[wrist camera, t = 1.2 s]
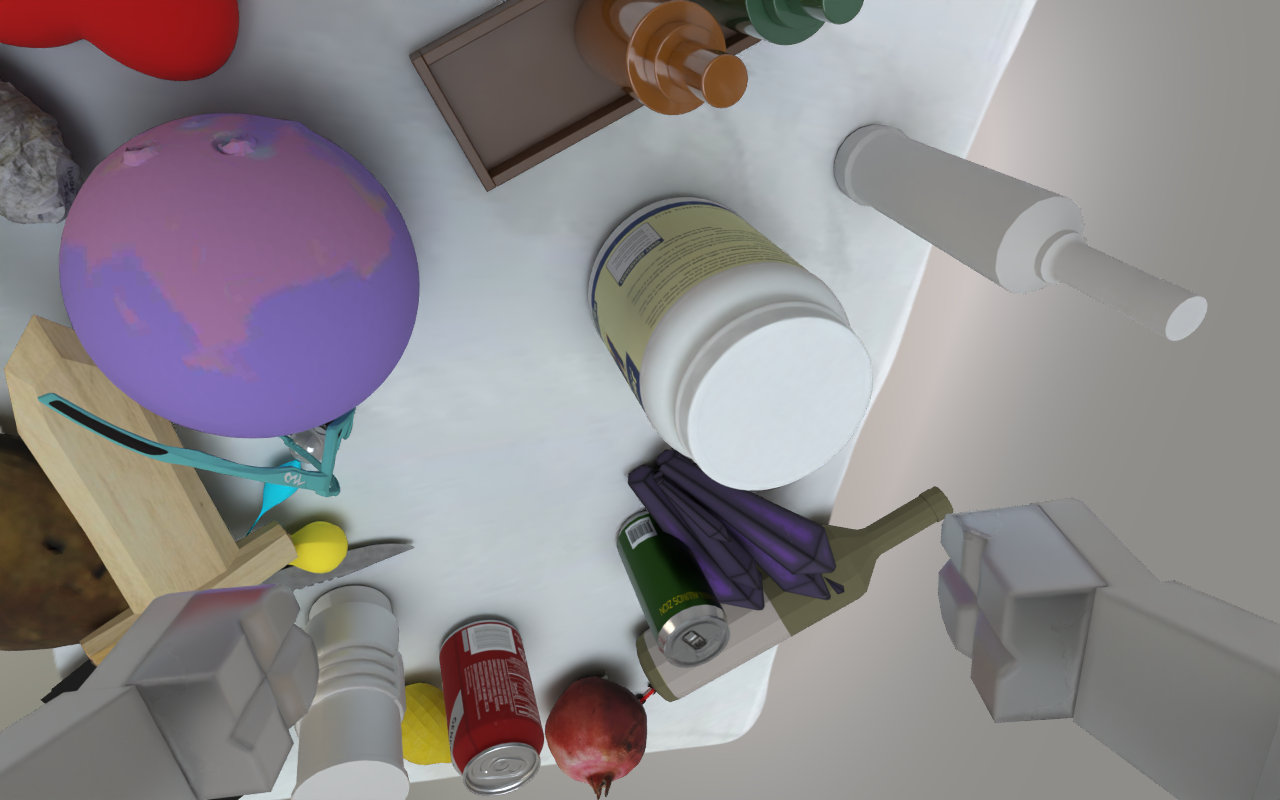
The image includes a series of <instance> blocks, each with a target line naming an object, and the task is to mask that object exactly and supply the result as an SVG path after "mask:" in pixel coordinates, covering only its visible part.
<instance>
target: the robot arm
mask: <svg viewBox="0 0 1280 800" xmlns="http://www.w3.org/2000/svg"><path fill="white" fill-rule="evenodd" d="M941 544H942V545H943V547H944V549H945V550H946V552H947V554H948V556H949V557H950V559H949V561H948V562H947V563H946V564H945V565H944V566H943V568H942V569H941V570H940V571H939V586H938V595H939V602H940V608H941V614H942V618H943V621H944V624H945V627H946V630H947V633H948V635H949V637H950V639H951V641H952V643H953V645H954V646H955V649H956V650H958V651H960V652H961V653H963V654H965V655H966V656H968V657H970V658H971V659H972V668H971V679H972V681H973V683H974V685H975V687H976V688H977V690H978V692H979V694H980V696H981V698H982V700H983V701H984V703H985V705H986V707H987V709H988V711H989V713H990V714H991V716H992V718H993V720H994V722H995V723H1001V722H1015V721H1031V720H1044V719H1045V720H1046V719H1061V718H1073V722H1074V723H1076V724H1077V725H1078V726H1080V727H1081V728H1083V729H1084V730H1085V731H1086V732H1088V733H1089V734H1090V735H1092V736H1093V737H1095V738H1096V739H1097V740H1099V741H1100V742H1101V743H1103V744H1104V745H1105V746H1107V747H1108V748H1109V749H1111V750H1112V751H1113V752H1115V753H1116V754H1118V755H1119V756H1120V757H1122V758H1123V759H1124V760H1126V761H1127V762H1128V763H1130V764H1131V765H1132V766H1134V767H1135V768H1136V769H1138V770H1139V771H1140V772H1142V773H1143V774H1145V775H1146V776H1147V777H1148V778H1150V779H1151V780H1153V781H1154V782H1155V783H1157V784H1158V785H1159V786H1161V787H1162V788H1163V789H1165V790H1166V791H1167V792H1169V793H1170V794H1171V795H1173V796H1174V797H1175V798H1177V799H1178V800H1280V624H1278V623H1275V622H1273V621H1271V620H1268V619H1266V618H1264V617H1261V616H1258V615H1256V614H1254V613H1252V612H1249V611H1247V610H1244V609H1242V608H1239V607H1237V606H1235V605H1232V604H1230V603H1227V602H1225V601H1223V600H1220V599H1218V598H1215V597H1213V596H1211V595H1208V594H1206V593H1204V592H1201V591H1199V590H1196V589H1194V588H1191V587H1189V586H1186V585H1184V584H1182V583H1179V582H1177V581H1175V580H1174V581H1162V582H1160V581H1159V580H1158V579H1157V578H1156V577H1155V576H1154V575H1153V574H1152V573H1151V572H1150V570H1149V569H1147V567H1146V566H1145V565H1144V564H1143V563H1142V562H1141V561H1140V560H1139V559H1138V558H1137V557H1136V556H1135V555H1134V554H1133V553H1132V552H1131V551H1130V550H1129V549H1128V548H1127V547H1126V546H1125V545H1124V544H1123V543H1122V542H1121V541H1120V540H1119V539H1118V538H1117V537H1116V536H1115V535H1114V533H1112V532H1111V530H1109V528H1108V527H1107V526H1106V525H1105V524H1104V523H1103V522H1102V521H1101V520H1100V519H1099V518H1098V517H1097V516H1096V515H1095V514H1094V513H1093V512H1092V511H1091V510H1090V509H1089V508H1088V507H1087V506H1086V505H1085V504H1084V503H1083V502H1082V501H1080V500H1077V499H1075V498H1066V499H1059V500H1051V501H1045V502H1036V503H1030V504H1029V505H1023V506H1014V507H1005V508H996V509H988V510H978V511H969V512H960V513H952V514H946V515H945V518H944V521H943V524H942V532H941ZM299 611H300V607H299V605H298V602H297V600H296V598H295V596H294V593H293V591H292V589H291V588H290V587H287V586H285V585H283V584H281V583H279V584H267V585H255V586H243V587H231V588H219V589H207V590H204V591H200V590H197V591H187V592H177V593H168V594H165V595H162V596H160V597H157V598H155V599H154V600H153V601H152V602H151V603H150V604H149V606H148V607H147V608H146V609H145V610H144V612H143V613H142V614H141V615H140V616H139V618H138V619H137V620H136V621H135V622H134V624H133V625H132V626H131V627H130V628H129V630H128V631H127V632H126V633H125V634H124V636H123V637H122V638H121V639H120V640H119V641H118V643H117V644H116V645H115V646H114V647H113V649H112V650H111V651H110V652H109V653H108V655H107V656H106V657H105V658H104V659H103V661H102V662H101V663H100V664H99V665H98V667H97V668H96V669H95V670H94V671H93V673H92V674H91V675H90V676H89V677H88V679H87V680H86V681H85V682H84V683H83V684H82V686H81V687H80V688H79V689H78V690H77V691H73V692H64V693H62V694H61V695H59V696H57V697H56V698H54V699H53V700H51V701H49V702H48V703H46V704H45V705H43V706H41V707H40V708H38V709H36V710H35V711H33V712H31V713H30V714H28V715H26V716H25V717H23V718H22V719H20V720H18V721H17V722H15V723H13V724H12V725H11V726H9V727H7V728H5V729H4V730H2V731H0V800H208V799H216V798H225V797H233V796H241V795H249V794H257V793H265V792H271V790H272V788H273V786H274V784H275V782H276V780H277V778H278V776H279V773H280V771H281V769H282V767H283V765H284V763H285V761H286V759H287V756H288V754H289V752H290V750H291V748H292V746H293V744H294V743H293V741H292V738H291V735H290V733H289V730H288V729H289V728H290V727H292V726H293V725H294V724H295V723H296V722H298V721H299V720H300V719H301V718H302V717H304V716H305V715H306V714H307V713H308V711H309V709H310V707H311V704H312V702H313V700H314V697H315V695H316V692H317V684H318V677H319V663H318V656H317V650H316V648H315V645H314V642H313V640H312V637H311V636H310V635H309V634H307V633H306V632H305V631H303V630H302V629H300V628H299V627H298V626H296V625H295V624H294V622H295V620H296V618H297V615H298V613H299Z"/></svg>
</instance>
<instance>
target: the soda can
mask: <svg viewBox="0 0 1280 800" xmlns="http://www.w3.org/2000/svg"><path fill="white" fill-rule="evenodd" d="M439 659H440V668H441V676H442V685H443V693H444V702H445V711H446V719H447V728H448V736H449V745H450V753H451V761H452V764H453V767H454V768H455V770H456V771H457V772H458V773H459V774H460V775H461V776H462V777H463V782H464V785H465V787H466V788H467V789H468V790H469V791H470V792H472V793H474V794H477V795H481V796H497V795H503V794H506V793H509V792H512V791H514V790H517V789H519V788H521V787H522V786H524V785H525V784H527V783H528V782H529V781H530V780H531V779H533V777H534V776H535V775H536V774H537V772H538V770H539V768H540V762H541V761H540V756H539V755H540V752H541V750H542V748H543V744H544V734H543V729H542V725H541V721H540V716H539V712H538V708H537V704H536V699H535V695H534V691H533V686H532V682H531V678H530V674H529V669H528V665H527V661H526V656H525V652H524V648H523V644H522V639H521V636H520V634H519V632H518V631H517V630H516V629H515V628H514V627H513V626H512V625H510V624H508V623H505V622H502V621H498V620H482V621H476V622H473V623H470V624H467V625H465V626H463V627H461V628H459V629H457V630H456V631H454V632H453V633H452V634H451V635H450V636H449V637H448V638H447V639H446V640H445V641H444V643H443V645H442V647H441V649H440V654H439Z"/></svg>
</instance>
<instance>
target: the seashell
mask: <svg viewBox="0 0 1280 800" xmlns="http://www.w3.org/2000/svg"><path fill="white" fill-rule="evenodd" d="M57 126H58V122H57V121H56V120H55V118H54V117H52V116H51V115H49V114H47V113H45V112H42V111H41V109H40V108H39V107H38V106H37V105H35V104H34V103H32V101H31V99H30V98H29V97H26V96H24V95H23V94H22V93H21V92H19V91H18V90H17V89H16V88H15V87H14V86H13V85H12V84H11V83H10V82H2V80H1V79H0V215H2V216H4V217H6V218H7V219H8V220H9V221H11V222H16V223H22V224H26V223H60V222H61V221H63V220H64V219H65V218H66V217H67V216H68V213H69V210H70V208H71V206H72V204H73V202H74V200H75V198H76V196H77V194H78V193H79V191H80V189H81V187H82V178H81V176H80V172H81V167H80V166H79V165H77V164H76V163H75V162H73V161H72V160H73V156H72V154H71V152H70V151H69V150H68V149H67V148H66V147H65V146H64V144H63V141H62V134H61V132H60V131H59V130H58V128H57Z"/></svg>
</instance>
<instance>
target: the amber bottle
mask: <svg viewBox="0 0 1280 800" xmlns="http://www.w3.org/2000/svg"><path fill="white" fill-rule="evenodd" d="M574 35H575V42H576V46H577V49H578V52H579V54H580V56H581V58H582V59H583V61H584V62H585V64H586V65H587V66H588V67H589V68H590V69H592V70H593V71H594V72H596V73H597V74H599V75H600V76H602V77H603V78H605V79H606V80H608V81H609V82H611V83H612V84H614V85H615V86H617V87H618V88H620V89H621V90H623V91H624V92H626V93H627V94H629V95H630V96H632V97H633V98H635V99H636V100H638V101H639V102H641V103H642V104H644V105H645V106H646V107H648V108H650V109H651V110H653V111H655V112H658V113H661V114H665V115H679V114H684V113H687V112H690V111H692V110H694V109H696V108H698V107H699V106H701V105H702V104H703V103H704V102H706V103H708V104H710V105H711V106H713V107H716V108H727V107H730V106H732V105H734V104H735V103H736V102H738V101H739V100H740V98H741V97H742V96H743V94H744V92H745V90H746V87H747V82H748V75H747V70H746V67H745V65H744V63H743V62H742V61H741V60H740V59H739V58H738V57H736V56H734V55H732V54H729V53H726V44H725V39H724V35H723V32H722V30H721V27H720V25H719V24H718V22H717V20H716V19H715V18H714V16H713V15H712V14H711V13H710V12H709V11H708V10H707V9H705V8H704V7H702V6H701V5H699V4H697V3H694V2H691V1H687V0H584V1H583V3H582V4H581V6H580V8H579V10H578V13H577V16H576V20H575V27H574Z"/></svg>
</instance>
